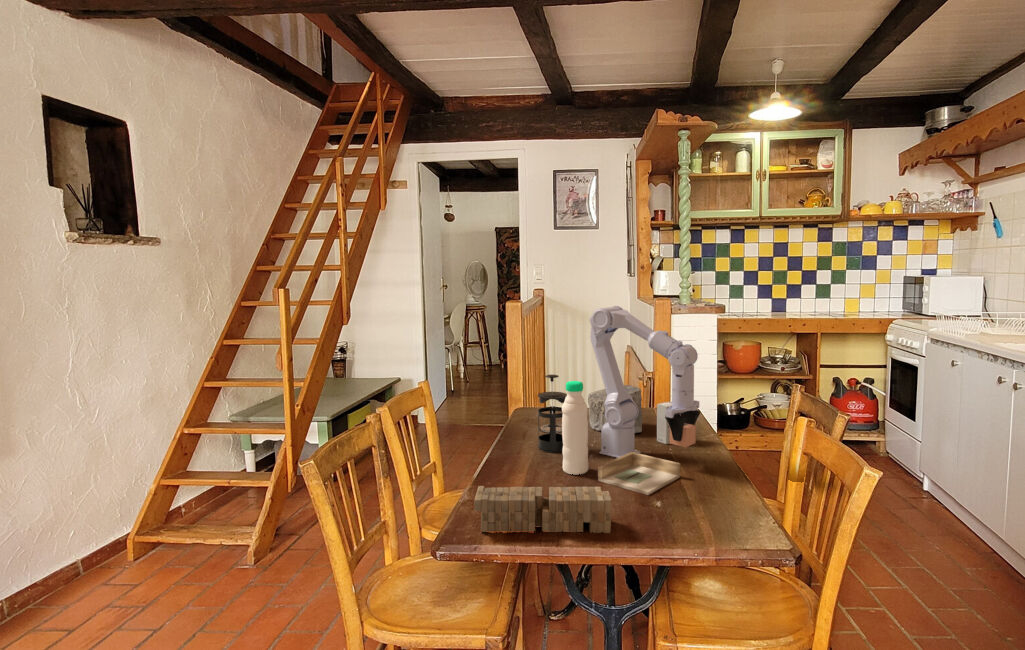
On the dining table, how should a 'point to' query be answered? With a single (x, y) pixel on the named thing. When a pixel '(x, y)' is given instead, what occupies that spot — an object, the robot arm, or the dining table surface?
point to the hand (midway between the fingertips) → (682, 438)
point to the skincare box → (663, 423)
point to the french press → (551, 421)
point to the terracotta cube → (685, 436)
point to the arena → (639, 472)
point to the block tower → (544, 509)
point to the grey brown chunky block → (598, 407)
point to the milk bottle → (575, 430)
